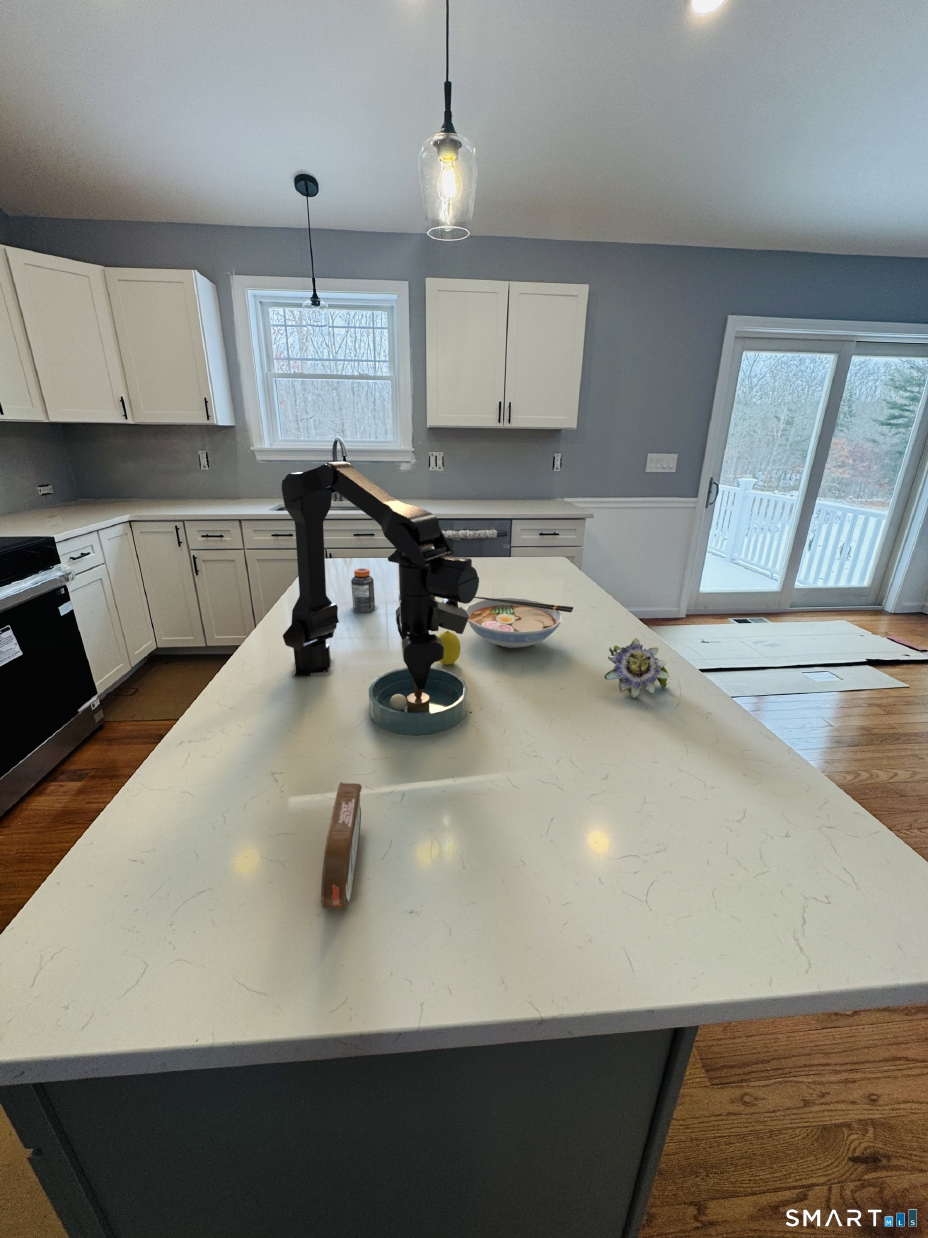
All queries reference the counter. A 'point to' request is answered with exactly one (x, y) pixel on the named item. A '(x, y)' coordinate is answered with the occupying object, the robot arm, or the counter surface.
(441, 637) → the lemon
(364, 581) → the pill bottle
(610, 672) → the passion flower
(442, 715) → the bowl
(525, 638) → the ramen bowl
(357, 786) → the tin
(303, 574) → the robot arm
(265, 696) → the counter surface
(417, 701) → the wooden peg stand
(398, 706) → the dough ball
